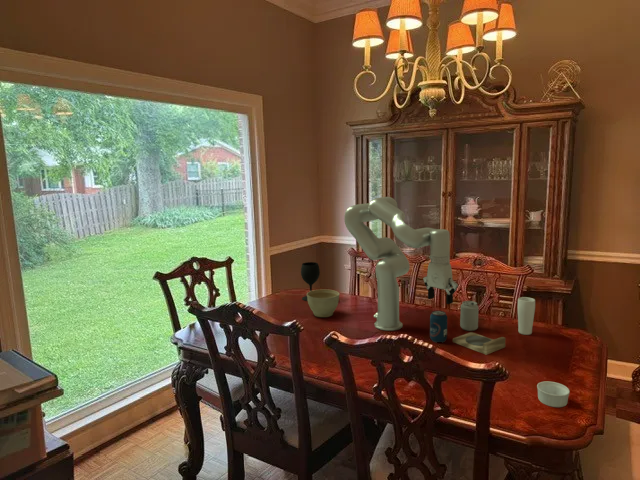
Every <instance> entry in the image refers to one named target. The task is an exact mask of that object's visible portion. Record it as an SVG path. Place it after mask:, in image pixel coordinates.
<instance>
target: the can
mask: <svg viewBox="0 0 640 480" xmlns="http://www.w3.org/2000/svg"><path fill="white" fill-rule="evenodd" d="M461 303H462V304H460V315H459V316H460V317H459V318H460V319H459V321H460V322H459V323H460V324H459V325H460V328H461V329H462V330H464V331H468V332H473V331H476V330H477V329H479V306H478V302H476V301H473V300H464V301H462V302H461Z"/></svg>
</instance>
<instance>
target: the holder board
mask: <svg viewBox="0 0 640 480" xmlns="http://www.w3.org/2000/svg"><path fill="white" fill-rule="evenodd" d="M506 339H507V338H506V337H504V336H501V337H498V338H494V339H493V338H490V337H487V336H484V335H481V334H478V333H476V332H473V331H469V332H467V333H465V334H462V335H459V336H456V337H453V338H452V343H455V344H457V345H460V346H462V347H465V348H467V349H470V350H473V351H475V352H478V353H480V354H484V355H485V356H486V355H490V354H491V353H493V352H497V351H500V350H501V349H504V348H506Z"/></svg>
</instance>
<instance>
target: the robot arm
mask: <svg viewBox="0 0 640 480" xmlns="http://www.w3.org/2000/svg"><path fill="white" fill-rule="evenodd" d="M343 219H344V224H345V228H346V230H348V232H349V233H350V234H351V236H352V237H353V238H354V239H355V240H356V242H357V243H358V245H359V246H360V247H361V249H362V251H363V252H364V253H365V254H366V256H367V258H369V259H370V260H372V261H377V260H378V262H377V263H376V265H375V276H376V282H377V312H376V313H375V314H373V318H374V319H376V321H375V322H374V327H375V328H376V329H378V330H381V331H389V332H390V331H391V332H393V331H398V330H400V329H401V328H403V322H401V321H400V288H399V282H398V280H397V278H398V277H402V276H404V275H407V273H408V272H409V271H410V268H411V267H410V266H411V265H410V261H409V259H408V258H407V256H406V255H405V254H404V252H403V251H402V250H401V248H400V247H399V246H398V244H397V243H396V241H394V240H393V239H392V238H390V237H377V235H376V234H375V233H374V231H373V230H372V228H370V227H369V226H367V225H366V224H365V222H372V221H376V220H379V221H381V222H382V223H384V224H385V225H386V226H388V227H390V228H391V231H392V232H393V234H394V236H395V237H396V239H398V240H399V241H401V242H402V243H404V244H405V245H406V246H408V247H410V248H413V249H419V248H423V247H428V246H430V255H429V256H428V257H429V259H430V262H429V263H428V266H427V272H426V273H427V275H426V276H424V277H423V278H422V279H423V282H424V285H425V286H426V290H427V299H428V300H433V299H434V298H435V289H439V290H445V292H446V295H445V297H446V298H445V303H446V305H449V304H453V302H454V294H455V293H456V292H457V289H458V287H459V283H457V282H456V281H454V280H453V269H452V264H451V262H450V247H451V242H450V237H451V236H450V231H449V230H448V229H446V228H445V229H444V228H442V229H437V228H434V227H422V228H417V229H414V228H413V227H411V226H409V225H408V224H407V223H405V219H406V215H405V212H404V211H403V210H401V209H399V208H398V203H397V201H396V199H394V198H393V197H391V196H382V197H375V198H373V199H372V200H370V202H369V203H360V204H359V203H358V204H353V205H350V206H349V207H348V208H347V209H346V210H345V212H344V218H343Z"/></svg>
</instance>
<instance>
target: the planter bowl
mask: <svg viewBox="0 0 640 480" xmlns="http://www.w3.org/2000/svg"><path fill="white" fill-rule="evenodd" d="M306 296H307V299H308V301H307V304H308V306H309V308H310V310H311V311H312V313H313V315H314V316H315V317H317V318H329V317H332V316H333V315H334V312H335V310H336V309H337V308H338V305H339V301H340V300H339V299H340V292H339V291H337V290H333V289H313V290H312V291H310V290H309V292H307V293H306Z"/></svg>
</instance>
